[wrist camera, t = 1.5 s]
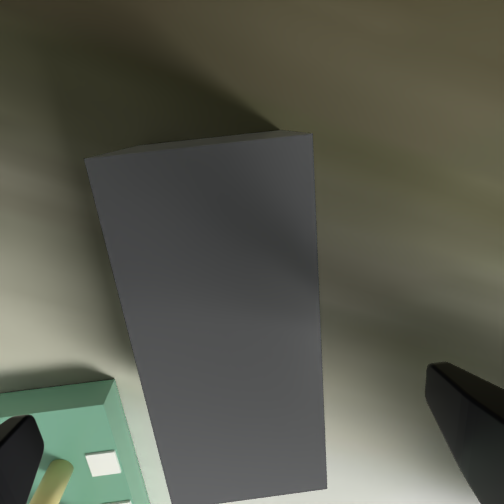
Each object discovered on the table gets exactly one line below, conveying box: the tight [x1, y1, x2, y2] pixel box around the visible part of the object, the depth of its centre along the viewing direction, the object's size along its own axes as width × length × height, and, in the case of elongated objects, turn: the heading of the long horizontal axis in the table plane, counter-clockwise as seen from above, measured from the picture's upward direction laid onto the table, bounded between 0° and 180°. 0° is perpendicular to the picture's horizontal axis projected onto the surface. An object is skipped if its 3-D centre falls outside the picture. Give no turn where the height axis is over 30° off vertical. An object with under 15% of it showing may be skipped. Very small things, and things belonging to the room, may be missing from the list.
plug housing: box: [84, 130, 327, 504], centre depth 12 cm, size 5×11×5 cm, turn 6°
